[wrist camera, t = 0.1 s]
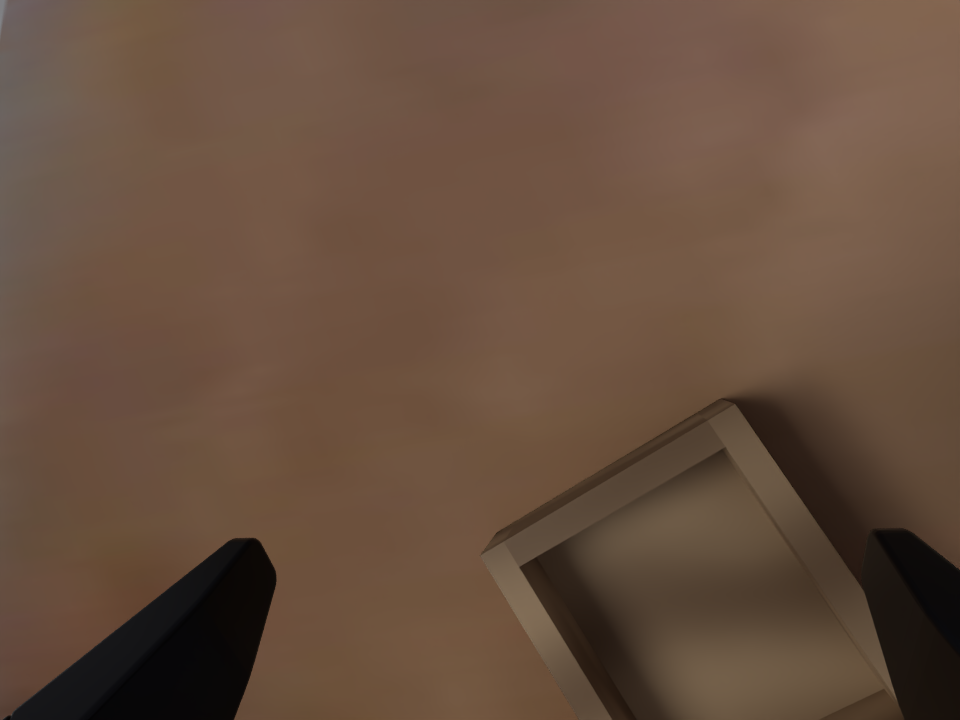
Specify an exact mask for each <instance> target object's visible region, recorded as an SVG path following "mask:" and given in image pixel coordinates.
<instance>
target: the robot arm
mask: <svg viewBox="0 0 960 720" xmlns="http://www.w3.org/2000/svg"><path fill="white" fill-rule="evenodd" d="M861 579H862V585H863V589H864V593H865V596H866V599H867V603H868V606H869V609H870V613H871V616H872V619H873V623H874V626H875V629H876V633H877V636H878V639H879V643H880V646H881V649H882V653H883V656H884V659H885V663H886V666H887V669H888V673H889V676H890V679H891V683H892V686H893V689H894V692H895V695H896V698H897V702H898V705H899V707H900V710H901V712H902V715H903V718H904V720H960V570H959V569H958V568H956V567H955V566H954V565H953V564H951V563H950V562H949V561H948V560H946V559H945V558H944V557H943V556H941V555H940V554H939V553H938V552H936V551H935V550H934V549H932V548H931V547H930V546H929V545H927V544H926V543H925V542H924V541H922V540H921V539H920V538H919V537H917V536H916V535H915V534H913V533H912V532H910V531H908V530H906V529H903V528H878V529H872V530H871V531H870V532H869V534H868V537H867V542H866V547H865V553H864V558H863V563H862V568H861ZM275 587H276V571H275V569H274V567H273V565H272V563H271V561H270V559H269V557H268V555H267V553H266V552H265V550H264V548H263V546H262V544H261V543H260V541H259V540H257V539H256V538H235V539H232V540H230V541H228V542H227V543H226V544H224V545H223V546H222V547H221V548H219V549H218V550H217V551H216V552H214V553H213V554H212V555H210V556H209V557H208V558H207V559H205V560H204V561H203V562H202V563H200V564H199V565H198V566H197V567H195V568H194V569H193V570H191V571H190V572H189V573H188V574H186V575H185V576H184V577H183V578H181V579H180V580H179V581H178V582H176V583H175V584H174V585H173V586H171V587H170V588H169V589H167V590H166V591H165V592H164V593H162V594H161V595H160V596H159V597H157V598H156V599H155V600H154V601H152V602H151V603H150V604H148V605H147V606H146V607H145V608H143V609H142V610H141V611H140V612H138V613H137V614H136V615H135V616H133V617H132V618H131V619H130V620H128V621H127V622H126V623H124V624H123V625H122V626H121V627H119V628H118V629H117V630H116V631H114V632H113V633H112V634H111V635H109V636H108V637H107V638H105V639H104V640H103V641H102V642H100V643H99V644H98V645H97V646H95V647H94V648H93V649H92V650H90V651H89V652H88V653H86V654H85V655H84V656H83V657H81V658H80V659H79V660H78V661H76V662H75V663H74V664H73V665H71V666H70V667H69V668H67V669H66V670H65V671H64V672H62V673H61V674H60V675H59V676H57V677H56V678H55V679H54V680H52V681H51V682H50V683H48V684H47V685H46V686H45V687H43V688H42V689H41V690H40V691H38V692H37V693H36V694H35V695H33V696H32V697H31V698H30V699H28V700H27V701H26V702H24V703H23V704H22V705H21V706H19V707H18V708H17V709H16V710H15V711H13V713H12V716H11V715H9V716H7V717H5V718H4V719H3V720H234V718H235V715H236V713H237V710H238V708H239V705H240V702H241V700H242V697H243V695H244V692H245V689H246V686H247V684H248V681H249V678H250V675H251V672H252V668H253V665H254V662H255V658H256V655H257V651H258V648H259V644H260V641H261V637H262V633H263V630H264V626H265V623H266V619H267V615H268V612H269V608H270V605H271V601H272V598H273V594H274V590H275Z"/></svg>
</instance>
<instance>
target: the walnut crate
mask: <svg viewBox="0 0 960 720" xmlns="http://www.w3.org/2000/svg"><path fill="white" fill-rule="evenodd" d="M480 557H481V558H482V560H483V562H484V563H485V565H486V567H487V568H488V570H489V571H490V573H491V575H492V576H493V578H494V580H495V581H496V583H497V585H498V586H499V588H500V590H501V591H502V593H503V595H504V596H505V598H506V600H507V601H508V603H509V605H510V606H511V608H512V610H513V611H514V613H515V615H516V616H517V618H518V620H519V621H520V623H521V625H522V626H523V628H524V629H525V631H526V633H527V634H528V636H529V638H530V639H531V641H532V643H533V644H534V646H535V648H536V649H537V651H538V653H539V654H540V656H541V658H542V659H543V661H544V663H545V664H546V666H547V668H548V669H549V671H550V673H551V674H552V676H553V678H554V679H555V681H556V682H557V684H558V686H559V687H560V689H561V691H562V692H563V694H564V696H565V697H566V699H567V701H568V702H569V704H570V706H571V707H572V709H573V711H574V712H575V714H576V716H577V717H578V719H579V720H904V718H903V715H902V712H901V710H900V707H899V705H898V702H897V698H896V695H895V692H894V689H893V686H892V683H891V679H890V676H889V673H888V669H887V666H886V663H885V659H884V656H883V653H882V649H881V646H880V643H879V639H878V636H877V633H876V629H875V626H874V623H873V619H872V616H871V613H870V609H869V606H868V603H867V599H866V596H865V593H864V590H863V589H862V588H861V586H860V585H859V583H858V582H857V580H856V579H855V577H854V576H853V574H852V573H851V572H850V570H849V569H848V567H847V566H846V564H845V563H844V561H843V560H842V558H841V557H840V556H839V554H838V553H837V551H836V550H835V548H834V547H833V545H832V544H831V542H830V541H829V540H828V538H827V537H826V535H825V534H824V532H823V531H822V529H821V528H820V526H819V525H818V524H817V522H816V521H815V519H814V518H813V516H812V515H811V513H810V512H809V510H808V509H807V508H806V506H805V505H804V503H803V502H802V500H801V499H800V497H799V496H798V494H797V493H796V492H795V490H794V489H793V487H792V486H791V484H790V483H789V481H788V480H787V478H786V477H785V476H784V474H783V473H782V471H781V470H780V468H779V467H778V465H777V464H776V462H775V461H774V460H773V458H772V457H771V455H770V454H769V452H768V451H767V449H766V448H765V447H764V445H763V444H762V442H761V441H760V439H759V438H758V436H757V435H756V433H755V432H754V431H753V429H752V428H751V426H750V425H749V423H748V422H747V420H746V419H745V417H744V416H743V415H742V413H741V412H740V410H739V409H738V407H737V406H736V404H734V403H731V402H728V401H726V400H723V399H719V400H717V401H716V402H714V403H712V404H711V405H709V406H707V407H706V408H704V409H702V410H701V411H699V412H697V413H696V414H694V415H692V416H691V417H689V418H687V419H686V420H684V421H682V422H681V423H679V424H677V425H676V426H674V427H672V428H671V429H669V430H667V431H666V432H664V433H662V434H661V435H659V436H657V437H656V438H654V439H652V440H651V441H649V442H647V443H646V444H644V445H642V446H641V447H639V448H637V449H636V450H634V451H632V452H631V453H629V454H627V455H626V456H624V457H622V458H621V459H619V460H617V461H616V462H614V463H612V464H611V465H609V466H607V467H606V468H604V469H602V470H601V471H599V472H597V473H596V474H594V475H592V476H590V477H589V478H587V479H585V480H584V481H582V482H580V483H579V484H577V485H575V486H574V487H572V488H570V489H569V490H567V491H565V492H564V493H562V494H560V495H559V496H557V497H555V498H554V499H552V500H550V501H549V502H547V503H545V504H544V505H542V506H540V507H539V508H537V509H535V510H534V511H532V512H530V513H529V514H527V515H525V516H524V517H522V518H520V519H519V520H517V521H515V522H514V523H512V524H510V525H509V526H507V527H505V528H504V529H502V530H500V531H499V532H497V533H496V534H495V536H494V537H493V539H492V540H491V541H490V543H489V544H488V545H487V547H486V548H485V549H484V551H483V552H482V554H481V555H480Z"/></svg>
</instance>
